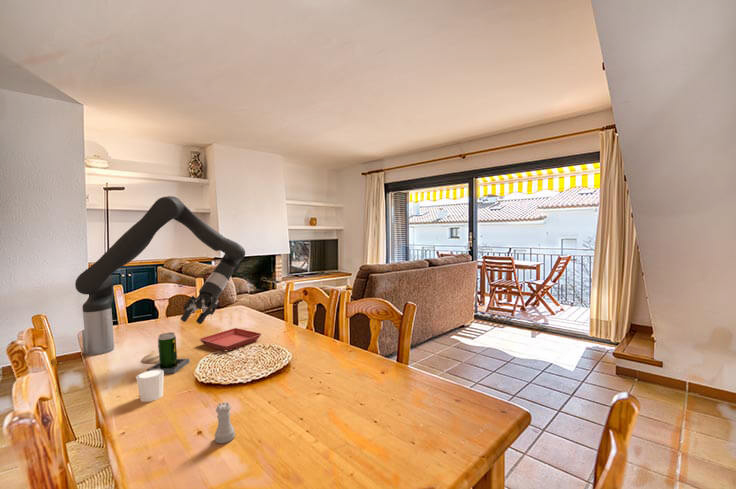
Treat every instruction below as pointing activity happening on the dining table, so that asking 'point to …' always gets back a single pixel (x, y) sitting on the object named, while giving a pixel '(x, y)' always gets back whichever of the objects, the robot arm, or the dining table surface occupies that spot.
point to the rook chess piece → (224, 424)
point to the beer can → (167, 350)
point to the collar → (173, 370)
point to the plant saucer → (230, 339)
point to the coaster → (151, 358)
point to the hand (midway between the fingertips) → (190, 321)
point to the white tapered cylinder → (150, 385)
